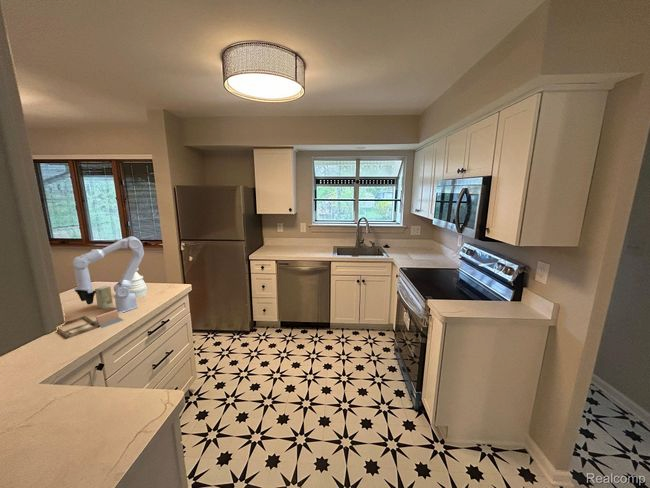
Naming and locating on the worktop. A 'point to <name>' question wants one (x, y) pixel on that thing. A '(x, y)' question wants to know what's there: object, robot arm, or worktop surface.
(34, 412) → the worktop surface
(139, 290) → the honey pot
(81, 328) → the offcut upper
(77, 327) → the walnut rack
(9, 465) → the worktop surface
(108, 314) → the dusty pink block
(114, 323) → the slate mat
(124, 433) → the worktop surface
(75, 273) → the robot arm
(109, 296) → the skincare box
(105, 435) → the worktop surface
